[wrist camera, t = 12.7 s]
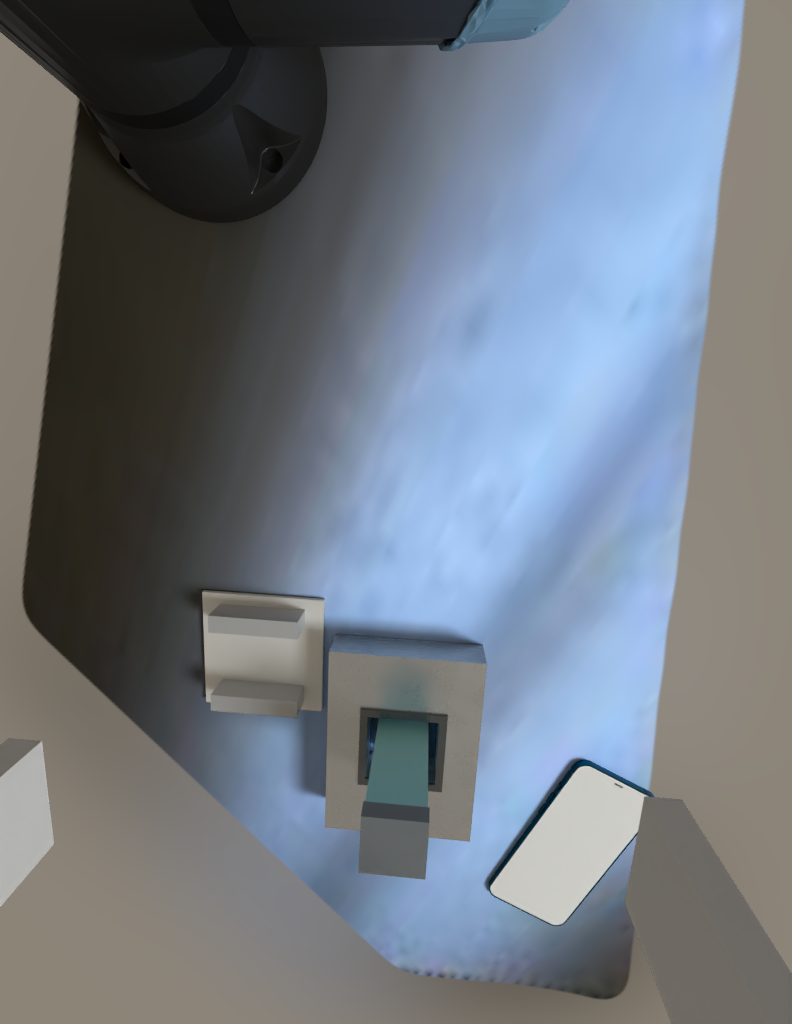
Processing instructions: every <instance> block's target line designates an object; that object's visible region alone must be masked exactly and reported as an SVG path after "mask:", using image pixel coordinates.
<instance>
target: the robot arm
mask: <svg viewBox="0 0 792 1024" xmlns="http://www.w3.org/2000/svg"><path fill="white" fill-rule="evenodd" d="M569 1H570V0H0V32H1V33H3V34H4V35H5V36H6V37H7V38H8V39H10V40H11V41H12V42H13V43H14V44H16V45H17V46H18V47H19V48H20V49H22V50H23V51H24V52H25V53H26V54H28V55H29V56H30V57H31V58H33V59H34V60H35V61H36V62H37V63H38V64H39V65H41V66H42V67H43V68H44V69H45V70H47V71H48V72H49V73H50V74H51V75H53V76H54V77H55V78H56V79H57V80H59V81H60V82H61V83H62V84H63V85H64V86H66V87H67V88H68V89H69V90H70V91H71V92H73V93H74V94H75V95H76V96H77V97H78V98H79V99H80V101H81V102H82V104H83V106H84V108H85V110H86V111H87V113H88V115H89V117H90V118H91V120H92V122H93V124H94V126H95V127H96V129H97V131H98V132H99V134H100V136H101V138H102V140H103V142H104V143H105V145H106V147H107V148H108V150H109V152H110V153H111V155H112V156H113V157H114V159H115V160H116V162H117V163H118V164H119V165H120V167H121V168H122V169H123V170H124V171H125V172H126V173H127V174H128V176H129V177H130V178H131V179H132V180H133V181H134V182H135V183H136V184H138V185H139V186H140V187H141V188H142V189H144V190H145V191H146V192H148V193H149V194H150V195H152V196H153V197H154V198H156V199H157V200H158V201H160V202H161V203H163V204H164V205H165V206H167V207H169V208H170V209H172V210H174V211H176V212H178V213H180V214H182V215H185V216H187V217H190V218H193V219H197V220H201V221H207V222H216V223H226V222H235V221H241V220H245V219H248V218H251V217H254V216H257V215H259V214H261V213H263V212H265V211H267V210H269V209H270V208H272V207H273V206H275V205H276V204H278V203H279V202H280V201H282V200H283V199H284V198H285V197H286V196H287V195H288V194H289V193H291V191H292V190H293V189H294V188H295V187H296V186H297V185H298V183H299V182H300V181H301V180H302V178H303V177H304V175H305V174H306V172H307V170H308V169H309V167H310V165H311V163H312V161H313V159H314V157H315V155H316V152H317V150H318V147H319V144H320V141H321V138H322V134H323V130H324V125H325V119H326V111H327V84H326V75H325V69H324V64H323V59H322V56H321V52H320V49H319V47H345V46H405V45H438V46H439V49H440V50H441V51H454V50H457V49H459V48H460V47H462V46H463V45H465V44H467V43H480V42H493V41H507V40H518V39H524V38H527V37H530V36H533V35H535V34H537V33H538V32H540V31H542V30H543V29H544V28H545V27H546V26H547V25H548V24H549V23H551V22H552V21H553V20H554V19H555V18H556V17H557V16H558V14H559V13H560V12H561V11H562V10H563V9H564V8H565V7H566V5H567V4H568V3H569ZM53 844H54V841H53V832H52V824H51V815H50V807H49V798H48V790H47V781H46V773H45V765H44V756H43V748H42V741H35V740H24V739H13V738H9V739H7V740H6V741H5V742H3V743H2V744H1V745H0V907H1V905H2V904H3V903H4V902H5V901H6V900H7V898H8V897H9V896H10V895H11V894H12V892H13V891H14V890H15V889H16V888H17V887H18V885H19V884H20V883H21V882H22V881H23V880H24V878H25V877H26V876H27V875H28V874H29V873H30V871H31V870H32V869H33V868H34V867H35V865H36V864H37V863H38V862H39V861H40V860H41V858H42V857H43V856H44V855H45V854H46V853H47V851H48V850H49V849H50V848H51V847H52V846H53ZM625 905H626V907H627V910H628V912H629V915H630V918H631V920H632V923H633V925H634V928H635V931H636V933H637V936H638V938H639V941H640V943H641V946H642V949H643V951H644V954H645V956H646V959H647V961H648V964H649V966H650V969H651V972H652V974H653V977H654V980H655V982H656V985H657V987H658V990H659V992H660V995H661V998H662V1000H663V1003H664V1005H665V1008H666V1011H667V1013H668V1016H669V1018H670V1021H671V1023H672V1024H792V973H791V972H790V970H789V968H788V967H787V965H786V964H785V962H784V960H783V959H782V957H781V956H780V954H779V952H778V951H777V950H776V948H775V946H774V945H773V943H772V942H771V940H770V938H769V937H768V935H767V934H766V932H765V930H764V929H763V927H762V926H761V924H760V923H759V921H758V919H757V918H756V916H755V914H754V913H753V911H752V910H751V908H750V907H749V905H748V903H747V902H746V900H745V899H744V897H743V895H742V894H741V892H740V891H739V889H738V888H737V886H736V884H735V883H734V881H733V880H732V878H731V877H730V875H729V873H728V872H727V870H726V869H725V867H724V865H723V864H722V862H721V861H720V859H719V857H718V856H717V854H716V853H715V851H714V850H713V848H712V846H711V845H710V843H709V842H708V840H707V838H706V837H705V835H704V834H703V832H702V831H701V829H700V827H699V826H698V824H697V823H696V821H695V819H694V818H693V816H692V815H691V814H690V811H689V810H688V808H687V807H686V805H685V804H684V802H683V800H679V799H668V798H658V797H647V796H644V801H643V806H642V812H641V817H640V823H639V828H638V834H637V839H636V844H635V850H634V855H633V861H632V866H631V872H630V877H629V883H628V888H627V894H626V899H625Z"/></svg>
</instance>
